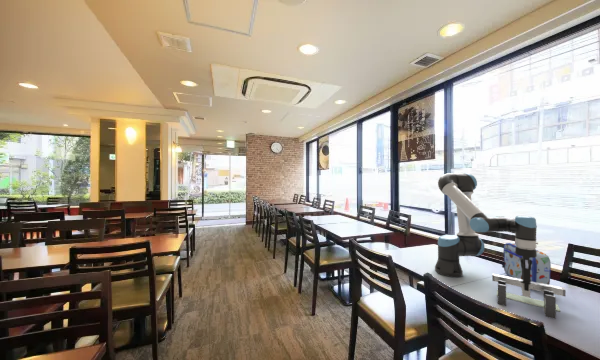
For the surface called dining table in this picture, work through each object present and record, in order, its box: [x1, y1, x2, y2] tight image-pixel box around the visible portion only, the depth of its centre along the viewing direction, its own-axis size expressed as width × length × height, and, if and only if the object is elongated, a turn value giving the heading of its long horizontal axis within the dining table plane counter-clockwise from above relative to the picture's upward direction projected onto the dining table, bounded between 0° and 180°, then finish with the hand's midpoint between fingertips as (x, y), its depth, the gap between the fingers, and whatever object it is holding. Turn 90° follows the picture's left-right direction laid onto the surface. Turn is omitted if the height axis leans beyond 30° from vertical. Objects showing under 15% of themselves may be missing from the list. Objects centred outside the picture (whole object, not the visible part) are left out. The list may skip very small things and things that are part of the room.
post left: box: [497, 280, 507, 307], centre depth 114 cm, size 3×6×10 cm, turn 139°
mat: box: [496, 289, 561, 312], centre depth 115 cm, size 22×7×1 cm, turn 49°
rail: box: [492, 273, 567, 298], centre depth 115 cm, size 26×3×3 cm, turn 49°
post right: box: [543, 290, 557, 320], centre depth 103 cm, size 3×6×10 cm, turn 139°
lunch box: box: [501, 242, 552, 285], centre depth 137 cm, size 28×10×22 cm, turn 168°
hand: (526, 295), depth 115 cm, fingers closed on rail, 3 cm apart
